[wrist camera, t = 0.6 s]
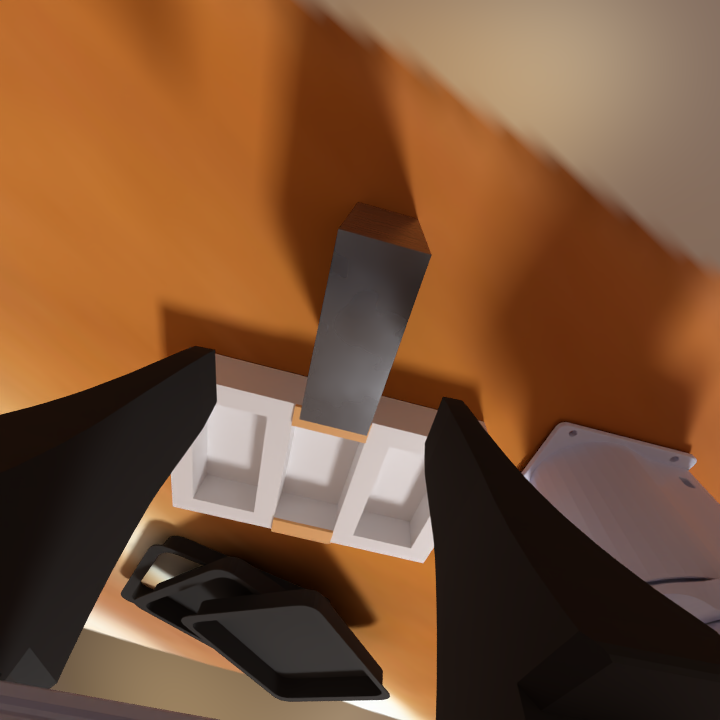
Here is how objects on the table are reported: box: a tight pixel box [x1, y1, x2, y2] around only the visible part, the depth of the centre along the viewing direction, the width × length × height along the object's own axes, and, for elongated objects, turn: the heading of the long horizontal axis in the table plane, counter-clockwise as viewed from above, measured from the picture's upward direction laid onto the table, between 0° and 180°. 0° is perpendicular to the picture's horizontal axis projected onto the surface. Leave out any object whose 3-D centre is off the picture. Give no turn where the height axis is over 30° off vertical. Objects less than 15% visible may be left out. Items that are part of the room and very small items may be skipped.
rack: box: [171, 347, 488, 563], centre depth 24 cm, size 20×12×3 cm, turn 76°
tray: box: [121, 536, 390, 702], centre depth 35 cm, size 30×23×5 cm
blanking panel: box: [299, 202, 431, 436], centre depth 16 cm, size 3×8×7 cm, turn 166°
